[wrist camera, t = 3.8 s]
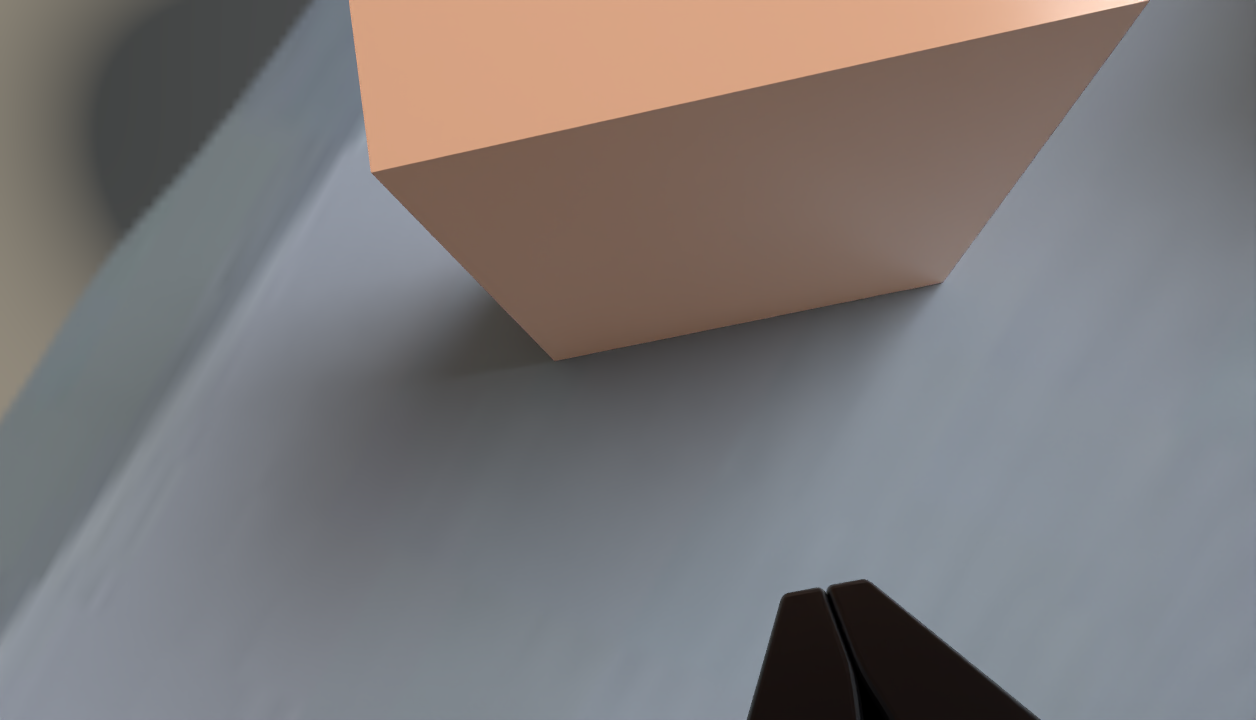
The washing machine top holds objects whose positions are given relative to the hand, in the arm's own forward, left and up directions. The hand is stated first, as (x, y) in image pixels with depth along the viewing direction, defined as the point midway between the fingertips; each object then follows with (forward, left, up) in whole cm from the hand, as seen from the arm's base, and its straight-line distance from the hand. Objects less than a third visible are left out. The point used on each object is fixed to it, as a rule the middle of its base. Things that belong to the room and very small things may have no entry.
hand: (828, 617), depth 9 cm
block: (+2, -6, -9) cm, 11 cm away
